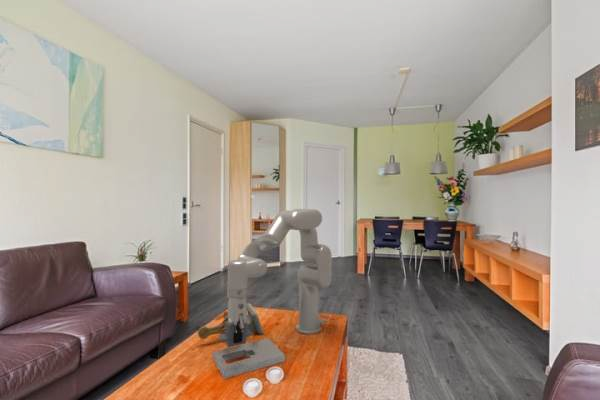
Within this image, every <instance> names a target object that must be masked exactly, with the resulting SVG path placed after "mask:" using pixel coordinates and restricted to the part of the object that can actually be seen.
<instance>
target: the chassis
mask: <svg viewBox="0 0 600 400" xmlns="http://www.w3.org/2000/svg"><path fill="white" fill-rule="evenodd" d="M285 355H286V354H284V352H283V351H282V350H281V349H279V347H278V346H276V344H274V343H273V341H272V340H271V339H269V338H264V339H261V340H255V341H252V342H249V343H248V342H246V343H245V344H240V345H236V346H231V347H227V348H226V347H225V348H223V349H218V350H215V351H213V352H212V359H213V361H214V363H215V365H216V366H217V368H218V370H219V372H220V374H221V376H222V378H223V379H224V380H225V379H229V378H232V377H235V376H239V375H242V374H245V373H249V372H253V371H256V370H259V369H264V368H267V367H270V366H272V365H277V364H279V363H280V364H281V363H283V362H285V361H286V360H285V359H286V358H285V357H286V356H285ZM242 357H245V358H243V359H241V360H237V361H233V362H230V363H227V362H226V361H231V360H235V359H238V358H242Z"/></svg>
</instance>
